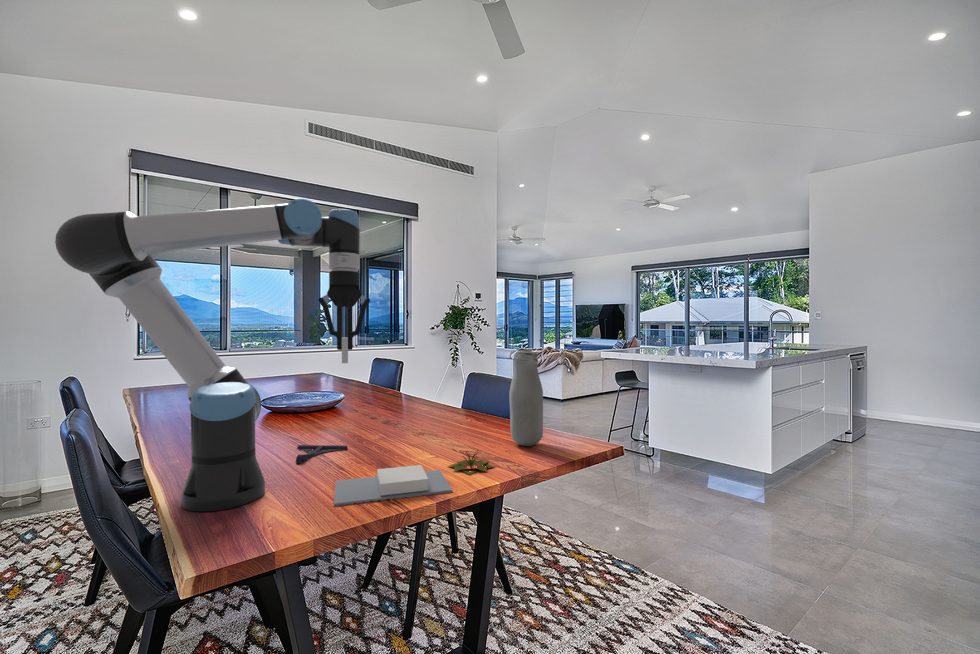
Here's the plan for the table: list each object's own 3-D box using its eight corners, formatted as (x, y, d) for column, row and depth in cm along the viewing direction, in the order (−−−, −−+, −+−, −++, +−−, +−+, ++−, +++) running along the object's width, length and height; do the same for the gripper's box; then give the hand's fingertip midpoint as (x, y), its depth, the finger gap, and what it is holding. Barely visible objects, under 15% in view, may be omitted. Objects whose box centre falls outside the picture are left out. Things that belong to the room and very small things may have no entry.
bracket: (271, 466, 120) (271, 455, 120) (299, 450, 135) (299, 440, 135) (325, 467, 119) (325, 456, 119) (347, 451, 133) (347, 441, 133)
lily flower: (437, 468, 116) (437, 450, 116) (474, 459, 124) (474, 442, 124) (467, 480, 107) (467, 461, 107) (505, 469, 115) (505, 451, 115)
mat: (333, 506, 92) (333, 503, 91) (335, 482, 105) (335, 480, 105) (452, 492, 99) (452, 489, 99) (439, 471, 112) (439, 469, 112)
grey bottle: (543, 440, 140) (542, 349, 140) (543, 450, 130) (543, 351, 130) (510, 440, 141) (510, 349, 141) (508, 449, 131) (508, 351, 131)
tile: (377, 481, 104) (380, 497, 95) (377, 469, 104) (380, 484, 95) (421, 476, 107) (428, 491, 98) (421, 464, 107) (428, 478, 98)
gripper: (316, 268, 113) (316, 364, 113) (371, 270, 117) (371, 363, 117) (318, 271, 120) (319, 362, 120) (370, 273, 124) (370, 361, 124)
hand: (344, 362), depth 119 cm, fingers closed
